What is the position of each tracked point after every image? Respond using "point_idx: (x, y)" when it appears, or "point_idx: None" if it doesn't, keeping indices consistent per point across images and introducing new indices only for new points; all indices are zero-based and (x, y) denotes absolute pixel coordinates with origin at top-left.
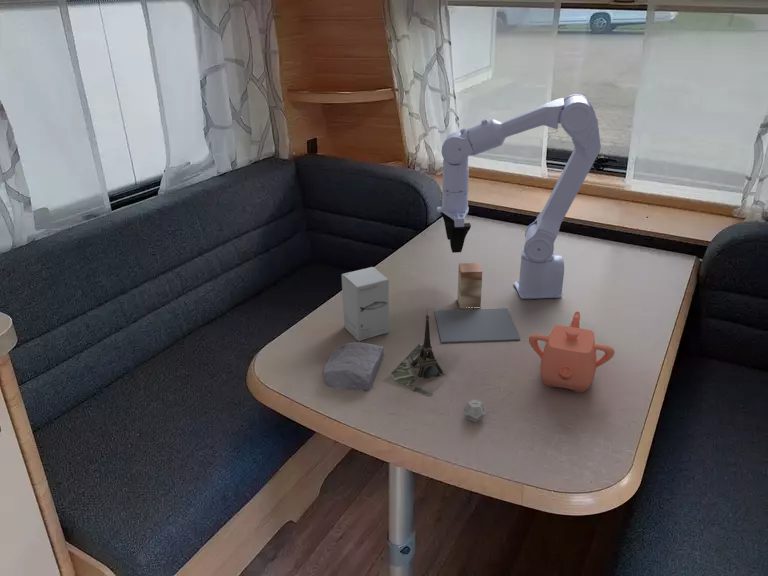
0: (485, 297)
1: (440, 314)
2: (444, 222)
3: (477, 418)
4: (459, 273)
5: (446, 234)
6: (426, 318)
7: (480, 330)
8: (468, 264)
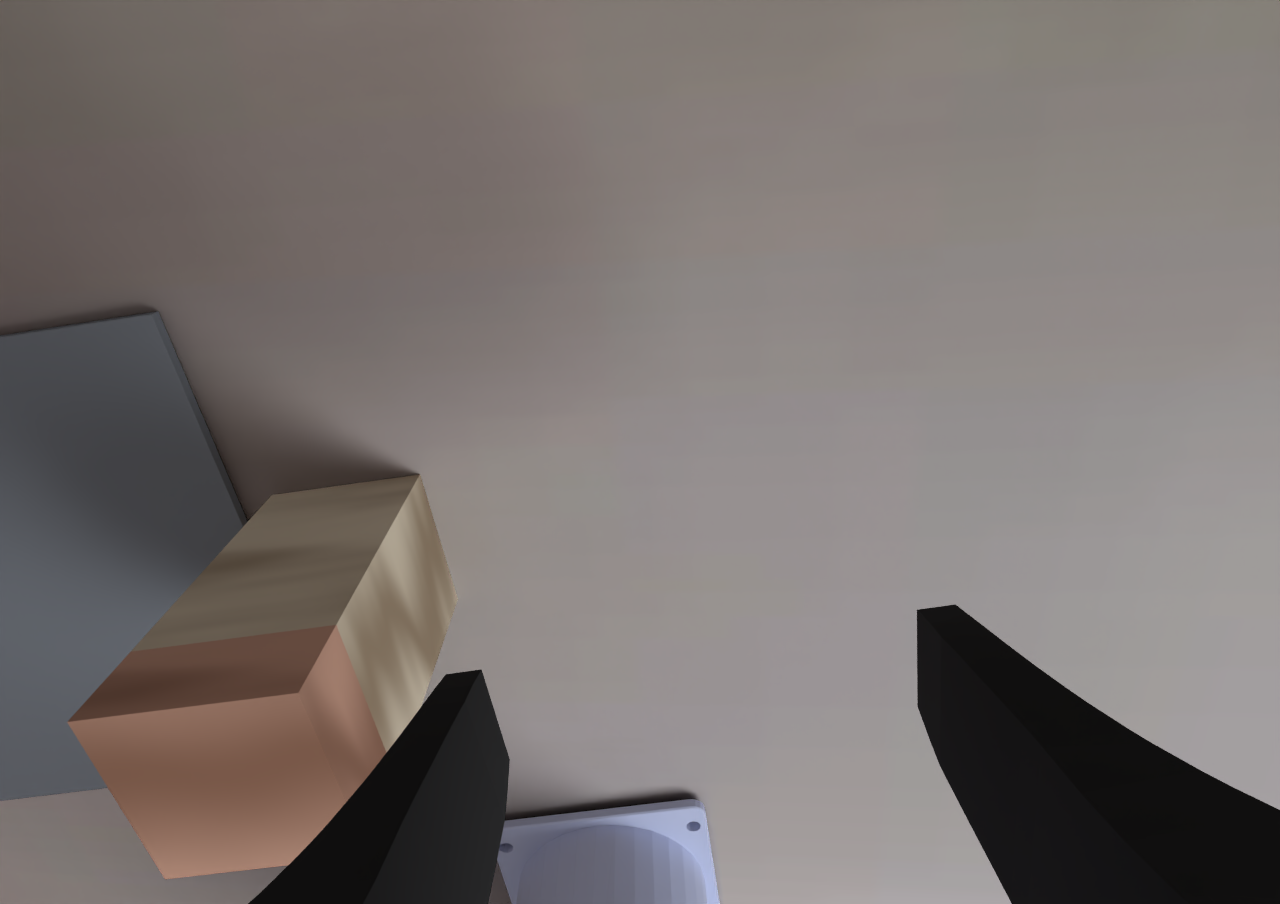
0: (488, 646)
1: (104, 362)
2: (1117, 782)
3: None
4: (251, 646)
5: (983, 635)
6: None
7: None
8: (302, 777)
